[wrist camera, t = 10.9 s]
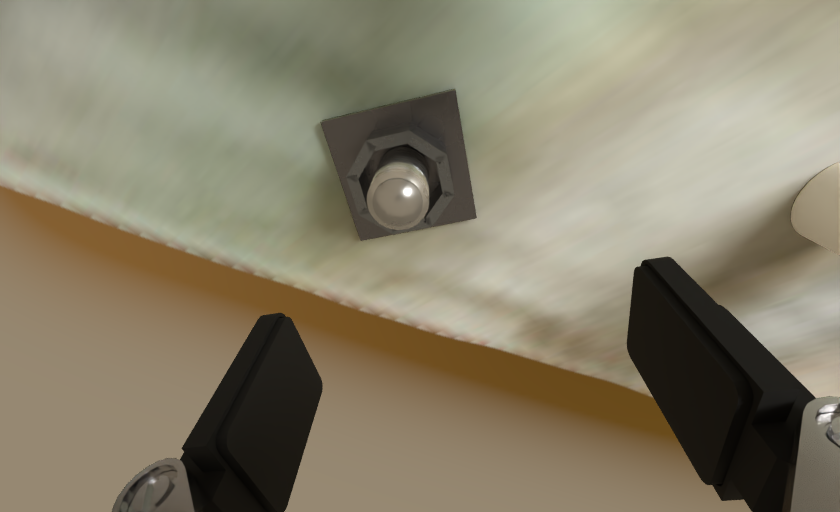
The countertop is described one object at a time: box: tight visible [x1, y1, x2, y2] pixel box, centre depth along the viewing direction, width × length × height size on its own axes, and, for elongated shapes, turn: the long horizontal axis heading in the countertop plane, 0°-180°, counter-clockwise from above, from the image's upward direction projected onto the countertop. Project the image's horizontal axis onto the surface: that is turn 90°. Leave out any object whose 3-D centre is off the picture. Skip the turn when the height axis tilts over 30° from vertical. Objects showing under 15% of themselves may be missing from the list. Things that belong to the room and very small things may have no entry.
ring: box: [346, 122, 454, 235], centre depth 28 cm, size 7×7×3 cm
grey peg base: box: [321, 89, 477, 241], centre depth 27 cm, size 10×10×7 cm
